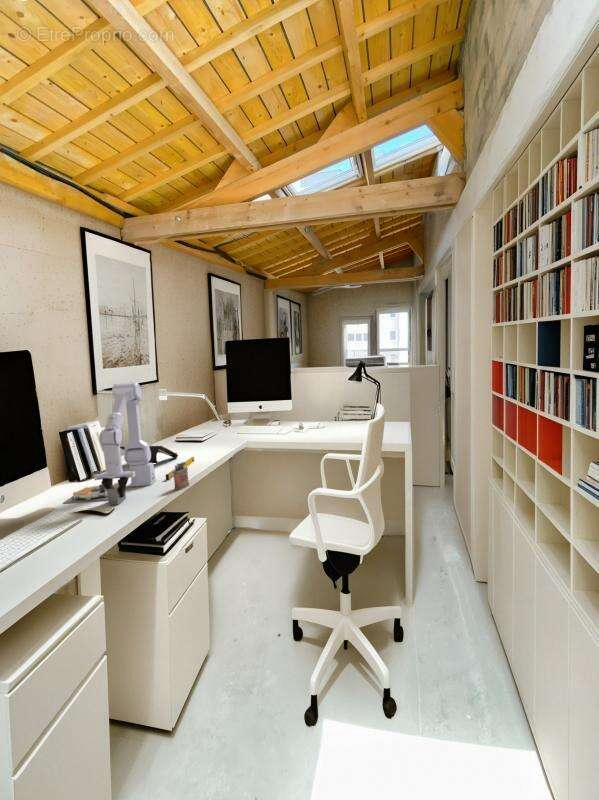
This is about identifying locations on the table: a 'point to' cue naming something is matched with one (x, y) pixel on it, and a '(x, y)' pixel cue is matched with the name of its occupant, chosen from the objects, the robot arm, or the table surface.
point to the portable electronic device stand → (156, 450)
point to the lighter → (181, 476)
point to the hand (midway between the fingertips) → (117, 497)
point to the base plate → (72, 500)
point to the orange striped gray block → (114, 495)
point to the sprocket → (91, 493)
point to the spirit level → (170, 474)
